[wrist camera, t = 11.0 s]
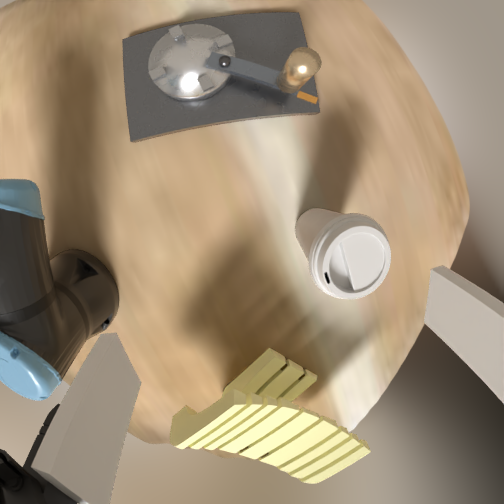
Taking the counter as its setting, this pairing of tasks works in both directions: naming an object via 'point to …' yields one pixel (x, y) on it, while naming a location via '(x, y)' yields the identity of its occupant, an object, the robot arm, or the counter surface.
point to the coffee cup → (344, 252)
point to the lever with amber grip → (218, 64)
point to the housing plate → (235, 91)
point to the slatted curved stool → (271, 423)
